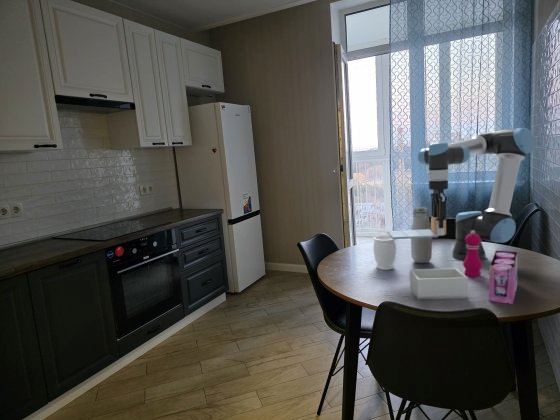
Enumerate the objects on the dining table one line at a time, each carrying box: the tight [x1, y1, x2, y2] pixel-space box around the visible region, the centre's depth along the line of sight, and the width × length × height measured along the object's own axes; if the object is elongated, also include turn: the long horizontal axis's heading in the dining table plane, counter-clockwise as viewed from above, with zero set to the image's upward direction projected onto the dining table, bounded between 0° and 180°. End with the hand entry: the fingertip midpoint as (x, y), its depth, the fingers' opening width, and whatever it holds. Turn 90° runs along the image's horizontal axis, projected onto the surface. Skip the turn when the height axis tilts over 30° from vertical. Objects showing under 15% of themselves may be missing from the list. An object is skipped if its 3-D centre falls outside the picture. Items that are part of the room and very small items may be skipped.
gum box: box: [488, 250, 518, 305], centre depth 141 cm, size 24×8×14 cm, turn 145°
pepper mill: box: [463, 230, 483, 278], centre depth 162 cm, size 7×7×20 cm
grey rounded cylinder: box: [410, 206, 433, 264], centre depth 184 cm, size 10×10×28 cm
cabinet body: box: [409, 267, 469, 301], centre depth 145 cm, size 18×12×8 cm, turn 84°
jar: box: [373, 235, 397, 271], centre depth 181 cm, size 11×10×15 cm
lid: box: [387, 216, 447, 240], centre depth 161 cm, size 23×13×7 cm, turn 84°
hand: (438, 233), depth 160 cm, fingers closed on lid, 4 cm apart
